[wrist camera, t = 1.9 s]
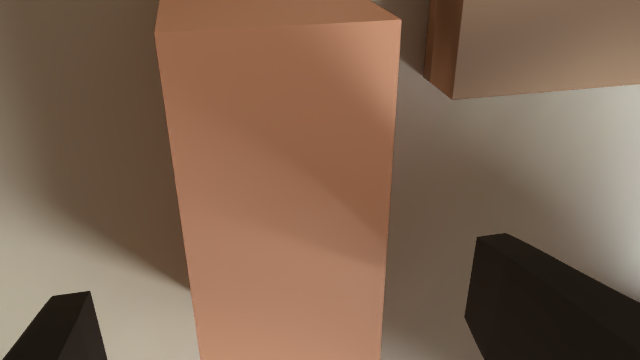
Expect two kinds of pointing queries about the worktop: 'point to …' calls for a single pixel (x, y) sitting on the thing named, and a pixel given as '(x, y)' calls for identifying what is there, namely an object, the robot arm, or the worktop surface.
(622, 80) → the board
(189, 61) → the bar
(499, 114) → the worktop surface
